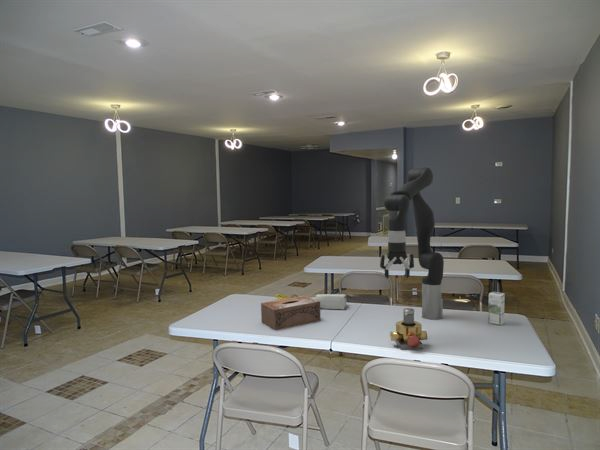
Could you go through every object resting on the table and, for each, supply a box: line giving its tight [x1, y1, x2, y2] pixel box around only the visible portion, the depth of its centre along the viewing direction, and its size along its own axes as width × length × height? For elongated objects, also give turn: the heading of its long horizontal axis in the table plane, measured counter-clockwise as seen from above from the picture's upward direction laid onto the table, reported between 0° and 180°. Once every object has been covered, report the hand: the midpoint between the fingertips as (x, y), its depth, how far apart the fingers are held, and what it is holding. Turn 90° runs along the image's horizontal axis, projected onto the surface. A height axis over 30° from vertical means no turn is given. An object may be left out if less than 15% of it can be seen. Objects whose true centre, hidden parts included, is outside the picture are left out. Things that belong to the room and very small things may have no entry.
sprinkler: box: [274, 293, 299, 300], centre depth 235 cm, size 22×6×20 cm
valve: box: [389, 319, 428, 351], centre depth 169 cm, size 14×12×9 cm
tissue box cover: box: [260, 295, 322, 331], centre depth 205 cm, size 26×14×10 cm, turn 121°
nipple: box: [402, 307, 415, 326], centre depth 169 cm, size 4×4×9 cm
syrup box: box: [487, 291, 506, 326], centre depth 195 cm, size 6×6×14 cm
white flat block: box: [309, 293, 348, 310], centre depth 236 cm, size 8×23×25 cm
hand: (396, 277), depth 179 cm, fingers open, 8 cm apart
